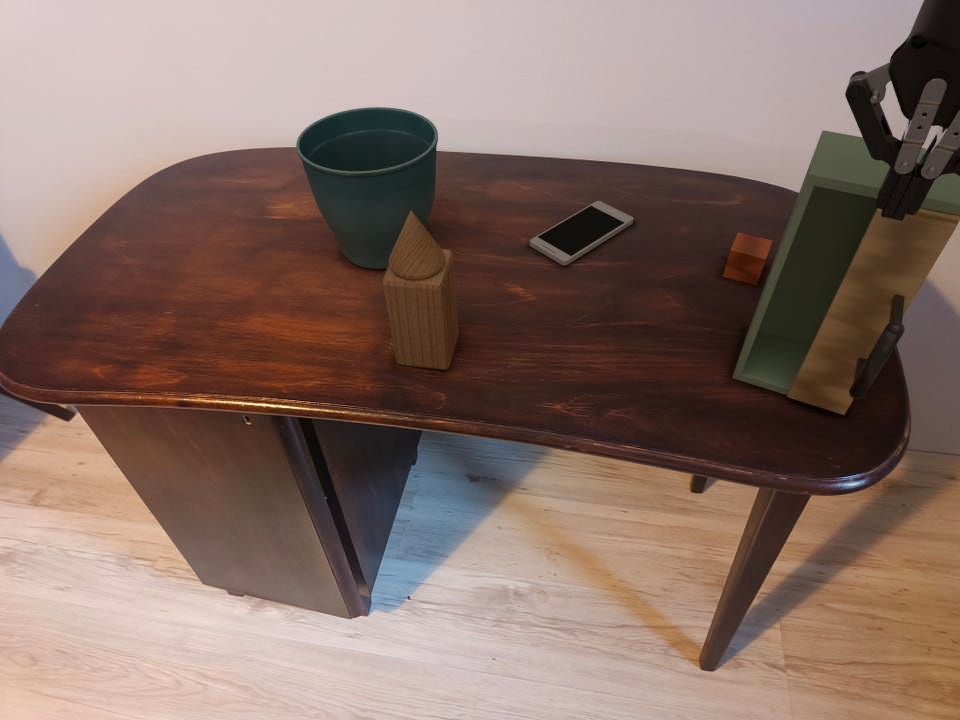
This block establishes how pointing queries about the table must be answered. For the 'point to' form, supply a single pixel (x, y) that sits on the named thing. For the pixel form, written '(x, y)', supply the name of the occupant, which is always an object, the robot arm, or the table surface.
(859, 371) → the door
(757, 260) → the block
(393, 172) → the flower pot
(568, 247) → the smartphone
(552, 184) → the table surface
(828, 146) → the box
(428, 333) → the decorative item
